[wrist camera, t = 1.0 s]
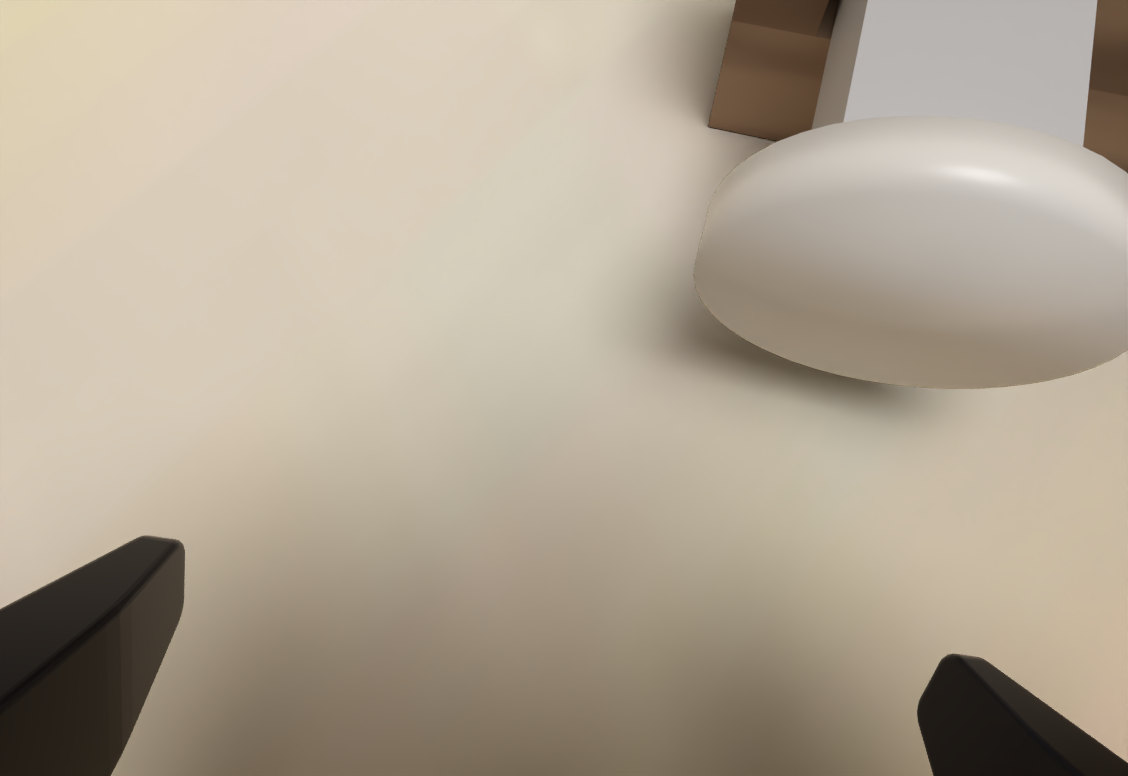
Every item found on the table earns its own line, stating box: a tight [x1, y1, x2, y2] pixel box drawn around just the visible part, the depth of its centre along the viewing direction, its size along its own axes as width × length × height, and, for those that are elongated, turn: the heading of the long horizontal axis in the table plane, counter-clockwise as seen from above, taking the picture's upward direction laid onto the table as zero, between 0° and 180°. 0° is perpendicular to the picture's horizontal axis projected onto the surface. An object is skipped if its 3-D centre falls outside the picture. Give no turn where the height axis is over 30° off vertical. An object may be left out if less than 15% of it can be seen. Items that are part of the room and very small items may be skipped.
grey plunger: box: [694, 0, 1128, 389], centre depth 15 cm, size 9×7×7 cm
